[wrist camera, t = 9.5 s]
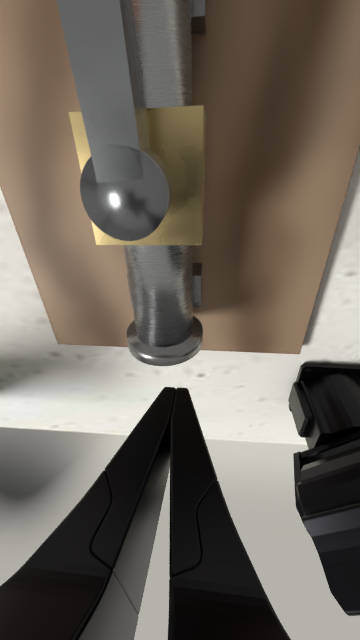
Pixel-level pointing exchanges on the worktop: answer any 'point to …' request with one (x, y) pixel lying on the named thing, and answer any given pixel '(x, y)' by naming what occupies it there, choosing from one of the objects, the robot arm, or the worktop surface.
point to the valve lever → (114, 120)
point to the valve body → (187, 181)
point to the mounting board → (220, 169)
